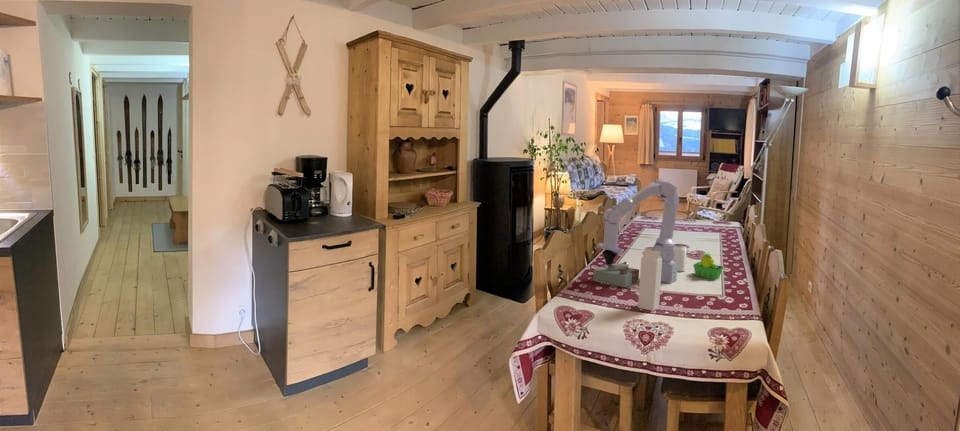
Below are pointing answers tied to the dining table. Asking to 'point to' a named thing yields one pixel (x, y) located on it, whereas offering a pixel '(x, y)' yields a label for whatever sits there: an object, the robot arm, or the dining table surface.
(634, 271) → the jamb
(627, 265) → the lock bar
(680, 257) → the can
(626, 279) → the grey-green rectangular block
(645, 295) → the milk
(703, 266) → the fruit basket
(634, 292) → the dining table surface
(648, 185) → the robot arm
